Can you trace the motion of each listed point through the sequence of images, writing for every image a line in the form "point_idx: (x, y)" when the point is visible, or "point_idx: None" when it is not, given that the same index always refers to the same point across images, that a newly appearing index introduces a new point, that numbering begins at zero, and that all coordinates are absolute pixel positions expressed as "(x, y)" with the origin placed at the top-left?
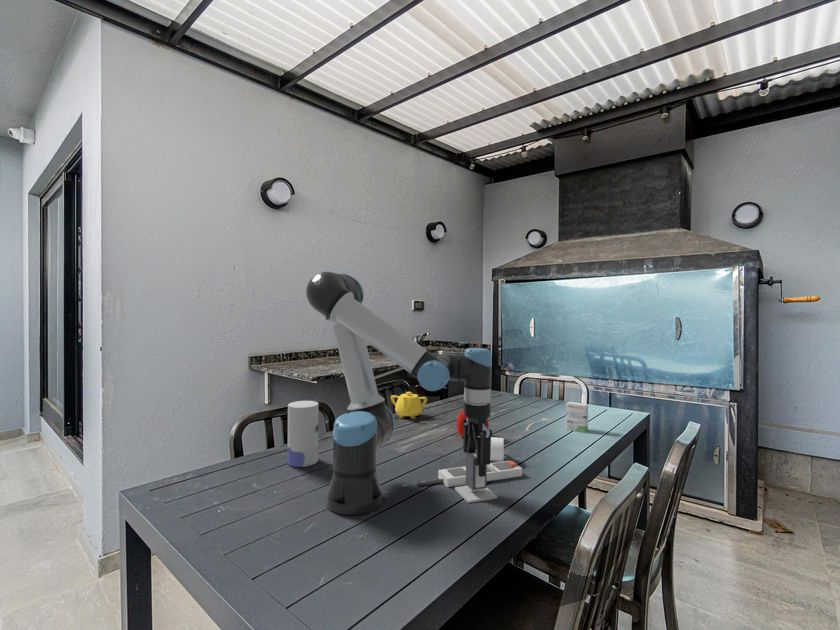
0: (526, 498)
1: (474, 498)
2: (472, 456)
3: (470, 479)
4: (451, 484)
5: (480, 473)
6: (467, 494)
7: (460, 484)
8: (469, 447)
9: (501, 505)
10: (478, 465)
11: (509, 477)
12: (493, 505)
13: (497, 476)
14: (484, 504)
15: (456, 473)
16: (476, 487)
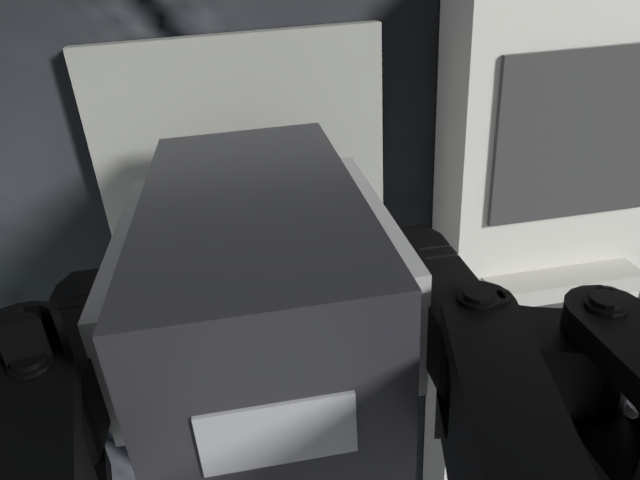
0: (113, 472)
1: (111, 124)
2: (223, 357)
3: (206, 163)
4: (448, 10)
5: (54, 297)
6: (204, 90)
7: (439, 107)
8: (472, 434)
9: (11, 299)
10: (88, 343)
11: (423, 469)
12: (13, 243)
13: (433, 414)
14: (35, 179)
15: (546, 109)
16: (133, 184)
